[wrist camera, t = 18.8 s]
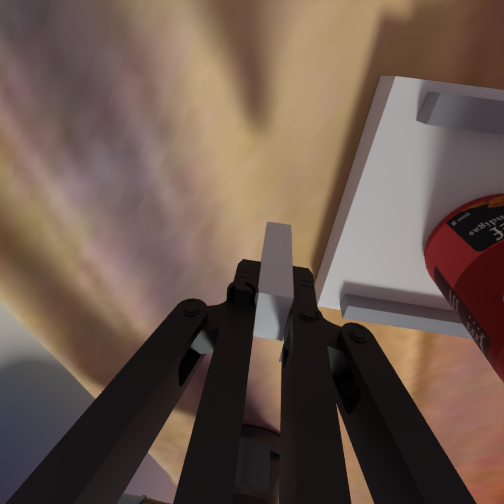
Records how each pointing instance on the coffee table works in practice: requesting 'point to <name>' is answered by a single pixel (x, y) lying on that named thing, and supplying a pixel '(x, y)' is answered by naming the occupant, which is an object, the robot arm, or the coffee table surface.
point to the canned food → (473, 271)
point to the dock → (409, 199)
